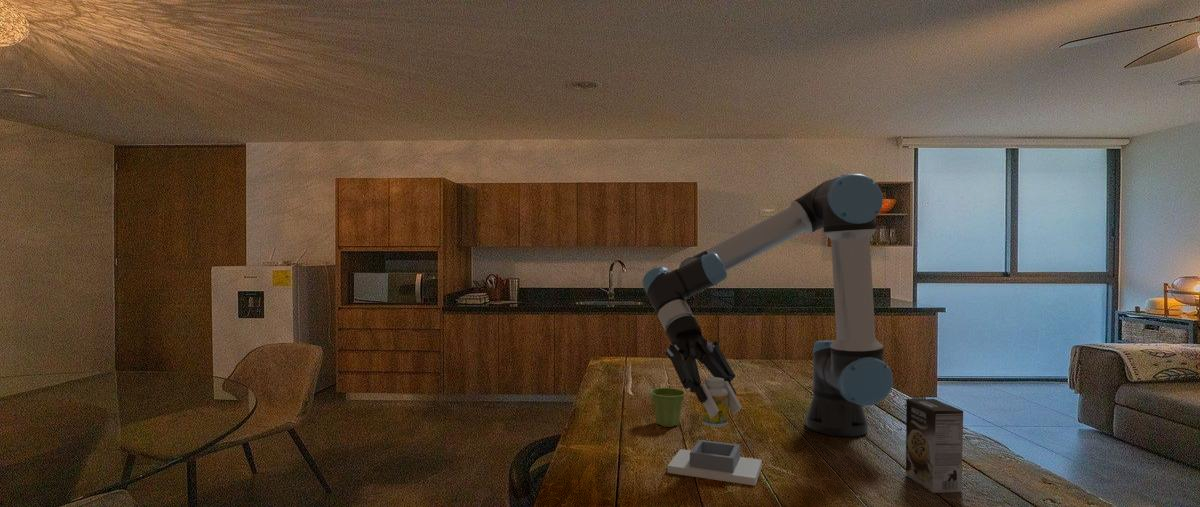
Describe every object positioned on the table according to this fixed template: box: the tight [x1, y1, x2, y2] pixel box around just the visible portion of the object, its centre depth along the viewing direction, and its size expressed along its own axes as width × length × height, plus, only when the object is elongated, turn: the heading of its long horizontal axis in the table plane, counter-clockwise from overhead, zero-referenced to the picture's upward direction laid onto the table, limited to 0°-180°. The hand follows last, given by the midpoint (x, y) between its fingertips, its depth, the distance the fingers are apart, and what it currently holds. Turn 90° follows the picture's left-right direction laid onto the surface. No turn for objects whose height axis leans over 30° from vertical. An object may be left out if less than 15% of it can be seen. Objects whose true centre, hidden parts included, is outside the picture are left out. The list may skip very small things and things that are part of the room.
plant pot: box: [650, 387, 687, 428], centre depth 159 cm, size 9×9×9 cm
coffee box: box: [905, 397, 964, 494], centre depth 119 cm, size 9×6×16 cm
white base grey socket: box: [667, 439, 763, 487], centre depth 126 cm, size 18×11×4 cm, turn 68°
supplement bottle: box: [701, 376, 729, 428], centre depth 126 cm, size 5×5×10 cm
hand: (726, 412), depth 123 cm, fingers closed on supplement bottle, 5 cm apart
